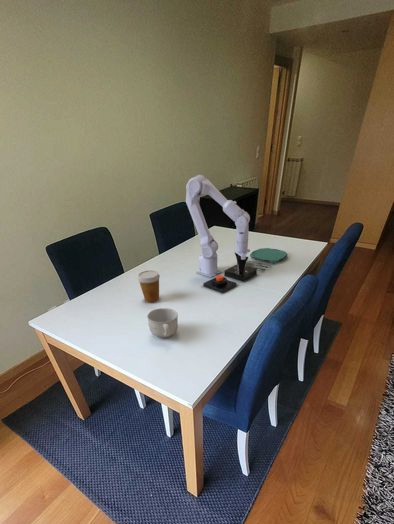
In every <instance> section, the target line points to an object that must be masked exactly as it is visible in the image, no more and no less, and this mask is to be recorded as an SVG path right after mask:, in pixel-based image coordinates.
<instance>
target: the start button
mask: <svg viewBox="0 0 394 524" xmlns="http://www.w3.org/2000/svg"><path fill="white" fill-rule="evenodd" d="M215 277H216V281H223V280H224V277H225V276H224V274H223V275H222V274H217V275H215Z"/></svg>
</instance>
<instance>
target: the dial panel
mask: <svg viewBox="0 0 394 524" xmlns="http://www.w3.org/2000/svg"><path fill="white" fill-rule="evenodd" d="M223 273H224V274H223V276H224V277H225V278H230V279H233V280H236V281H239V282H242V283H244V282H246V281H248V280H249V279H252V278H253V277H255V276H257V275H258V269H255V268H251V267H247V266H245V270H244V271H237V264H234V265H233V266H231V267H228V268H226V269H225V270H224V271H223Z"/></svg>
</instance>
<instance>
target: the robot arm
mask: <svg viewBox="0 0 394 524" xmlns="http://www.w3.org/2000/svg"><path fill="white" fill-rule="evenodd" d="M185 190H186V193H185V203H186V206H187V209H188V211H189V214H190V216H191V220H192V221H193V224H194V227H195V229H196V231H197V234H198V237H199V239H200V240H199V241H200V242H199V243H200V248H201V249H200V250H201V251H200V253H201V255H199V257H198V271H197V274H201V275H203V276H206V277H209V278H212V277H213V278H214V277H216V276H217V275H220V274H221V273H222V271H221V270H218V253H217V251H218V249H219V243H218V242H217V241H216V240H215V238H214V236H213V235H212V234H211V232H210V229H209V227H208V224H207V222H206V219H205V216H204V213H203V211H202V208H201V205H200V203H199V200H200V197H201V195H208V196H209V197H211V198H212V199H213V200H214V201H215V202H216V203H218V204H219V205H220V206H221V207H222V212H223V213H224V214H226V215H227V216H228V217H229V218H230V219H231V220H232V221H233V222H234V225H235V226H236V228H235V229H236V230H235V250H234V256H235V258H236V263H237V262H238V266H239V271H244V267H245V265H246V262H247V261H249V256H247V254H248V253H250V252H251V249H249V248H248V247H249V232H250V231H249V225H250V224H249V223H250V222H251V216H250V214H249V212H248V211H245V210H244V209H243V208H241V207H240V206H239V205H238V204H237V201H236V200H234V201H233V200H232V199H228V198H226V196H224V195H223V193H221V191H220V190H219V189H218V188H217V187H216V186H215V185H214V183H212V182H211V181H210V180H209V178H207V177H205V175H203V174H197V175H196V176H194V177H191V178H189V180H188V181H187V183H186V185H185Z"/></svg>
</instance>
